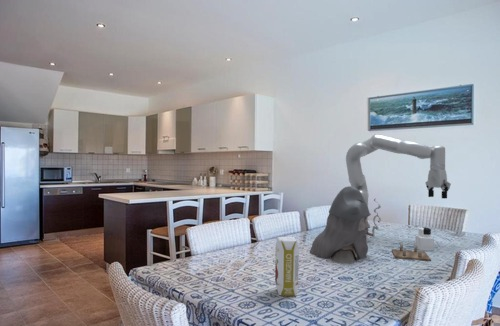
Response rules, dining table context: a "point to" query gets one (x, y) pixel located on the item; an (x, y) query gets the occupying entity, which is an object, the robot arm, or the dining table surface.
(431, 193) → the robot arm
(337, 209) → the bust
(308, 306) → the dining table surface
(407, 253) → the wooden peg board
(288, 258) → the juice carton
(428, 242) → the white capped block
